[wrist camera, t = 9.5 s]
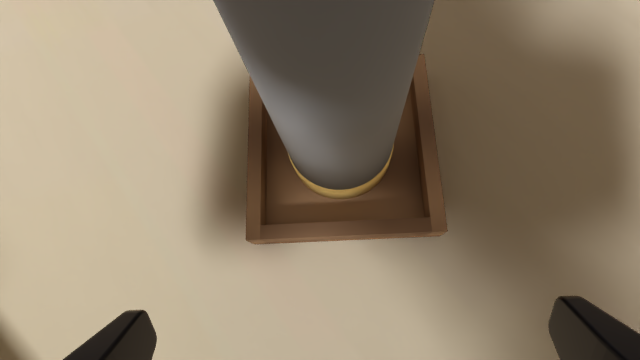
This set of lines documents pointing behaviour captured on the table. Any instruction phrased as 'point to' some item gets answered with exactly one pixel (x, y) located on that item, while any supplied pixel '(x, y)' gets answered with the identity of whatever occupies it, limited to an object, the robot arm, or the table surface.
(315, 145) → the banded sleeve
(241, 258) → the table surface
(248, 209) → the walnut socket
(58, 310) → the table surface
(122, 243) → the table surface
